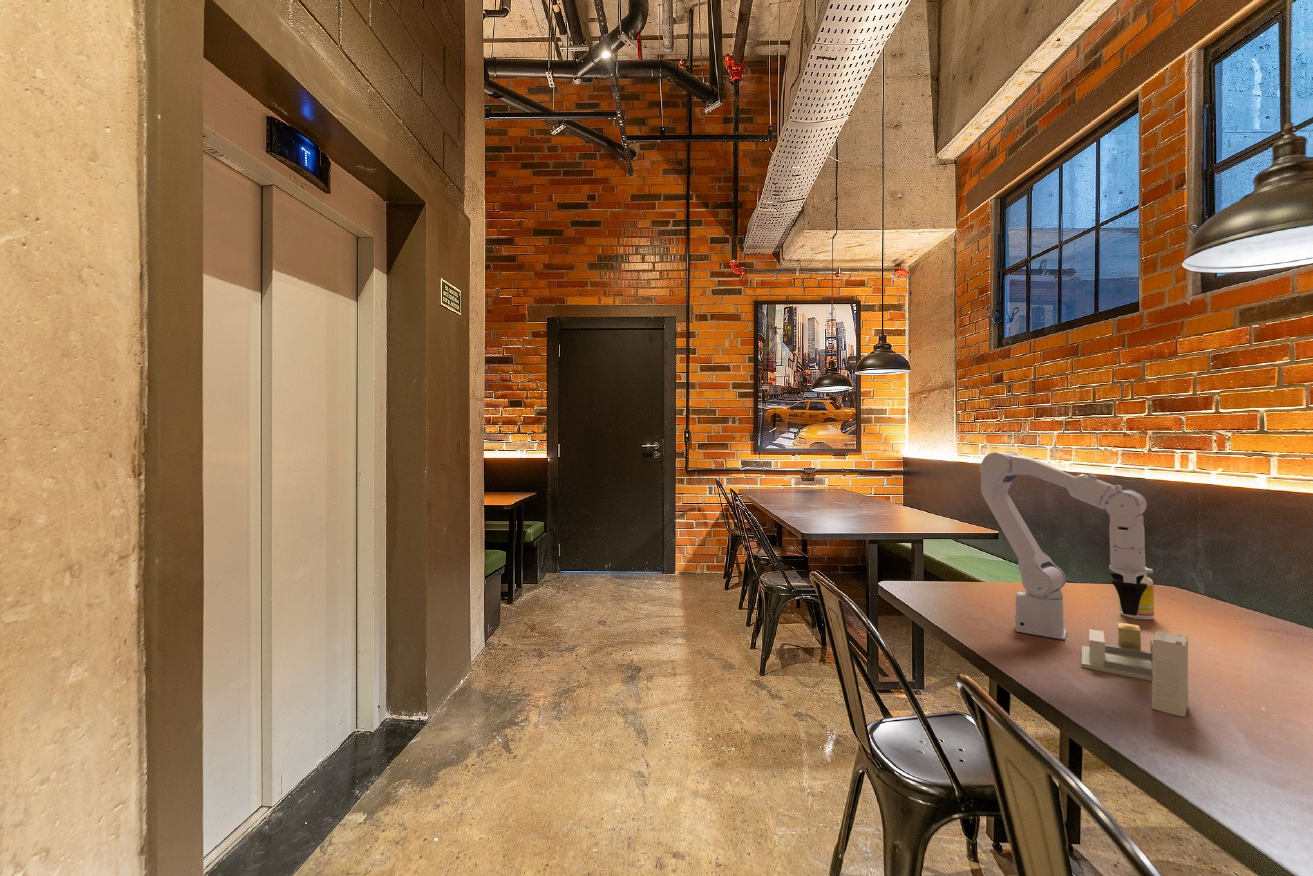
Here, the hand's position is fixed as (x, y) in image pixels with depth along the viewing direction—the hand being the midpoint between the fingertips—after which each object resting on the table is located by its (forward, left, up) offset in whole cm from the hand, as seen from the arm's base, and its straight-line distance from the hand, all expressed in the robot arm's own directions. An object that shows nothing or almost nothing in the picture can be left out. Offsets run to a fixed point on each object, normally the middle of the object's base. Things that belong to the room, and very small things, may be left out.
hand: (1128, 610), depth 117 cm
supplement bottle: (+3, +32, -9) cm, 33 cm away
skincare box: (+4, -28, -9) cm, 30 cm away
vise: (-1, -10, -9) cm, 13 cm away
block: (0, 0, -9) cm, 9 cm away
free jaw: (+4, -10, -8) cm, 13 cm away
